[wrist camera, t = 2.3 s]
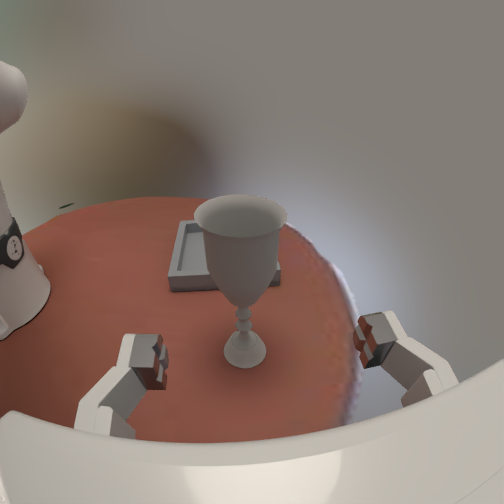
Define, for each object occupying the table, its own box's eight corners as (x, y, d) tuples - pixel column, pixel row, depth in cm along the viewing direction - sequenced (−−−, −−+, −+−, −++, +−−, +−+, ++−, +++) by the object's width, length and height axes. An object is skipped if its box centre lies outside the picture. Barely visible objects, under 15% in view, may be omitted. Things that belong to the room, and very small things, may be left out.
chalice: (203, 353, 31) (175, 217, 21) (238, 319, 36) (231, 188, 25) (252, 386, 28) (252, 250, 17) (286, 346, 32) (303, 209, 21)
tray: (171, 291, 40) (167, 276, 38) (182, 234, 53) (180, 221, 51) (279, 285, 41) (280, 269, 39) (264, 229, 54) (265, 216, 52)
